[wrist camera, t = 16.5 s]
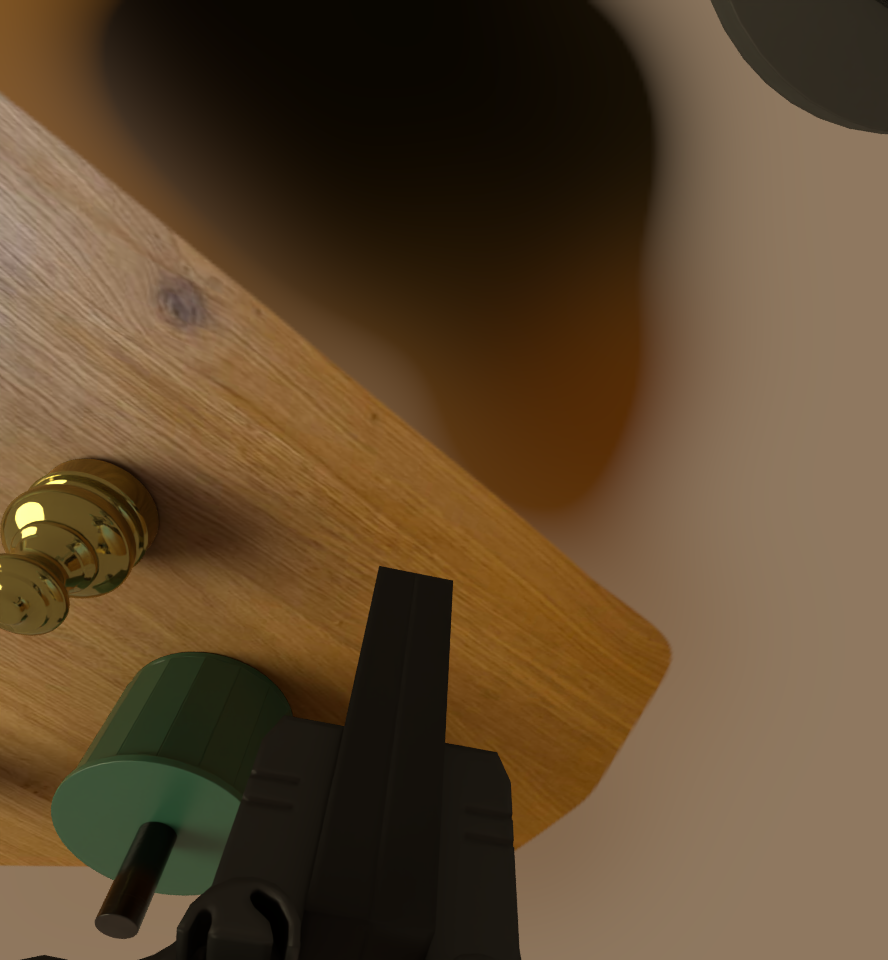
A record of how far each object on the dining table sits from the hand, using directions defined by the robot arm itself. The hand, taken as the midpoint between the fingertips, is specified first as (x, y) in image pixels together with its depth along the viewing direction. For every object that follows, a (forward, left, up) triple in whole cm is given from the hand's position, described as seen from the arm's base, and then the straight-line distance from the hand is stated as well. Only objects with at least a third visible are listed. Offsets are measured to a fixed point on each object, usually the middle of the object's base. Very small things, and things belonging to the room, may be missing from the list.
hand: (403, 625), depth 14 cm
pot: (+11, +33, -24) cm, 42 cm away
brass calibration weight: (+19, +16, -25) cm, 35 cm away
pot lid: (+11, +33, -15) cm, 38 cm away
